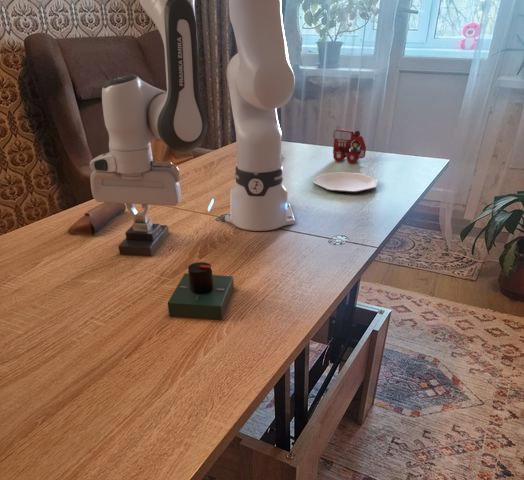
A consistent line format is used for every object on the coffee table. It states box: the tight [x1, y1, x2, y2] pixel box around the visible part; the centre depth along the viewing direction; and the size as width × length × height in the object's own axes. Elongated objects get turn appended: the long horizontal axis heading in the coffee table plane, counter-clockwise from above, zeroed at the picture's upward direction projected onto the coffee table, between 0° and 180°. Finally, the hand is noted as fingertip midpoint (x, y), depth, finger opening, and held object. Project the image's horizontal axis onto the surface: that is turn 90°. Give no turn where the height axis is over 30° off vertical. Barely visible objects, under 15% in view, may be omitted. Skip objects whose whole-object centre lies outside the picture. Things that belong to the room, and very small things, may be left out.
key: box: [131, 218, 154, 232], centre depth 114 cm, size 4×4×2 cm
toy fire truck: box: [332, 129, 367, 164], centre depth 176 cm, size 7×12×10 cm, turn 66°
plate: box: [313, 171, 379, 194], centre depth 154 cm, size 20×20×2 cm
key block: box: [117, 223, 170, 258], centre depth 116 cm, size 14×8×4 cm, turn 172°
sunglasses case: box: [67, 202, 127, 237], centre depth 127 cm, size 18×7×7 cm
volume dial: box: [187, 261, 213, 294], centre depth 91 cm, size 4×4×5 cm
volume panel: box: [167, 273, 235, 321], centre depth 93 cm, size 12×10×3 cm
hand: (141, 221), depth 114 cm, fingers closed, pressing on key
